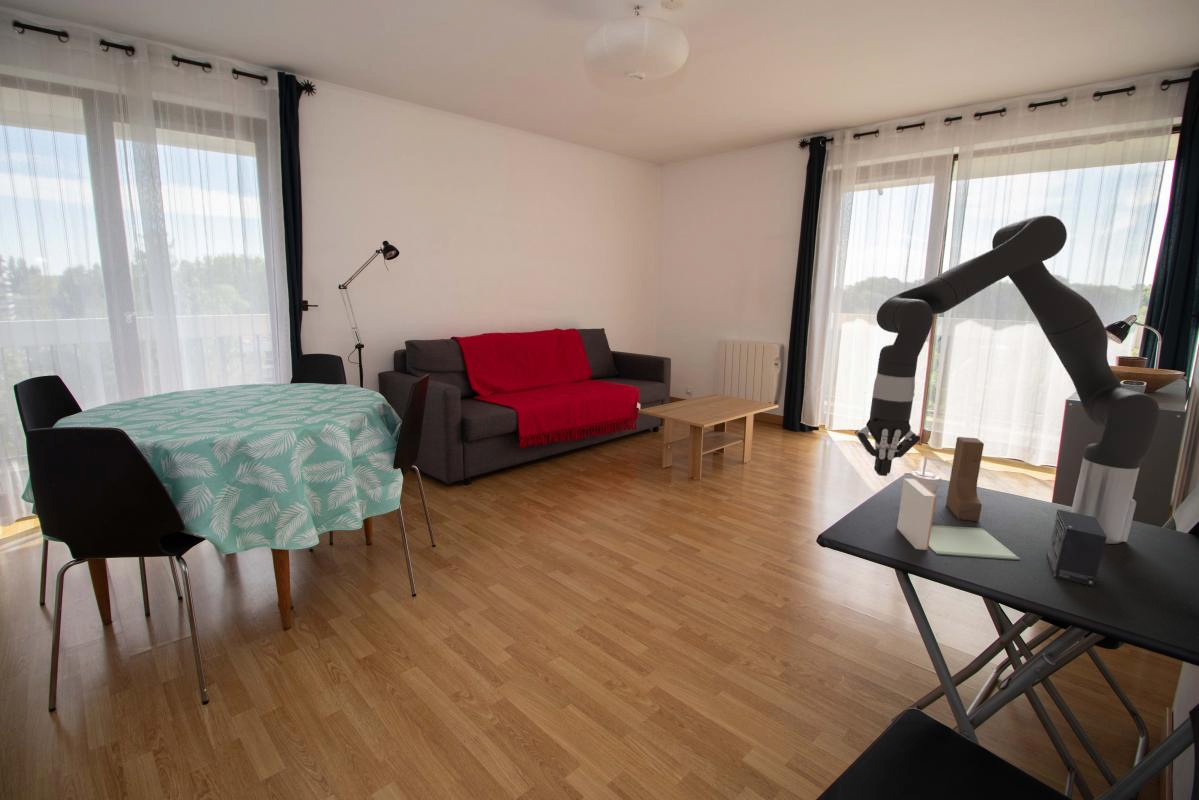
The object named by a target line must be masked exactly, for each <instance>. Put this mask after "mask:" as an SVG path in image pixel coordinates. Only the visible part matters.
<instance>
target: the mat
mask: <svg viewBox="0 0 1199 800" xmlns="http://www.w3.org/2000/svg"><path fill="white" fill-rule="evenodd" d="M928 548H929V549H930V550H931V551H933V553H935V555H941V556H950V557H951V556H952V557H953V556H954V557H955V556H956V557H968V558H969V557H970V558H983V559H996V560H997V559H998V560H1014V561H1020V560H1021V558H1020V557H1019V556H1017V555H1016V554H1014V552H1012V551H1011V550H1009V548H1007V547H1006V546H1005V545H1003V544H1002V543H1001V542H1000V541H999V540H997V539H996V538H995V537H993V536H992V535H991V534H990V533H989V532H987V531H986V530H985V529H984V528H983V527H982V528H981V527H965V526H953V525H952V526H950V525H937V524H936V525H935V524H932V528H931V534H930V540H929V546H928Z"/></svg>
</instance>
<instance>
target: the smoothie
mask: <svg viewBox="0 0 1199 800" xmlns="http://www.w3.org/2000/svg"><path fill="white" fill-rule="evenodd" d="M927 462H928V456H924V459H923V465H922V470H919V469H918V470H912V471H911V472H910V476H909V477H910V479H916V480H917V481H919V482H920V483H921V484H922V485H923V486H925V487H926V488H927V489H928V490H929V491H931V492H932V493H933V494H934V495H936V492H937V490H938V487H939V486H938V485H939V483H941V482H942V476H941V475H939V474H937V473H935V472H931V471H927Z"/></svg>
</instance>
